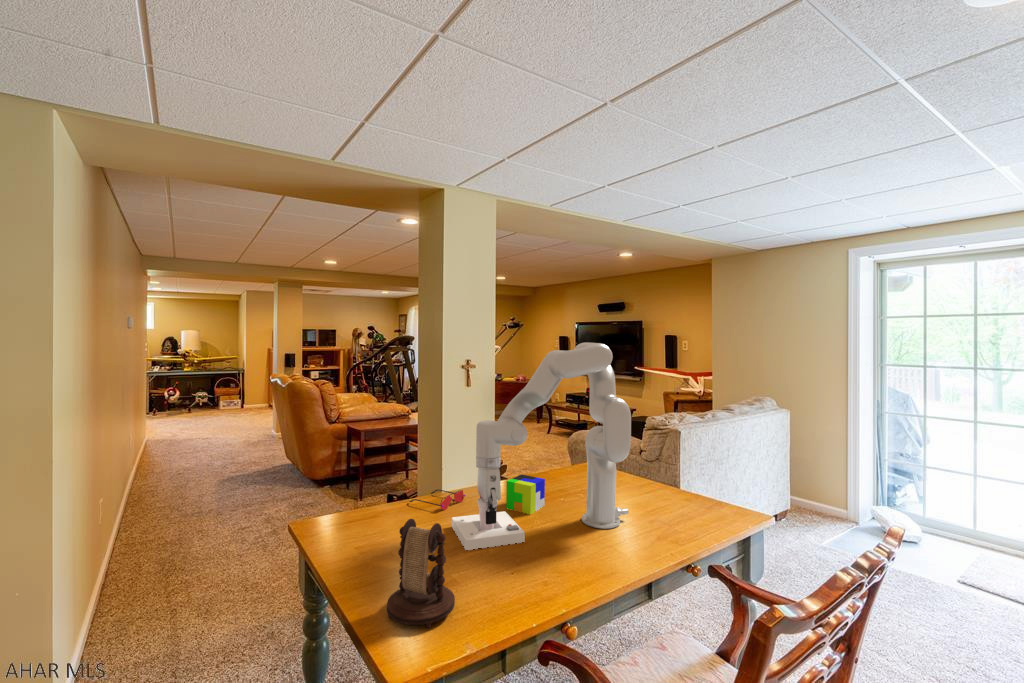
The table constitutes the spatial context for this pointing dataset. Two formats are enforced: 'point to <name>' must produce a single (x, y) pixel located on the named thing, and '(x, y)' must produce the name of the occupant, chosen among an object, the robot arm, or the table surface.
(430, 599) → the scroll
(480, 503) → the smoothie
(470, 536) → the socket plate
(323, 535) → the table surface
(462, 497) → the glasses
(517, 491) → the puzzle toy
